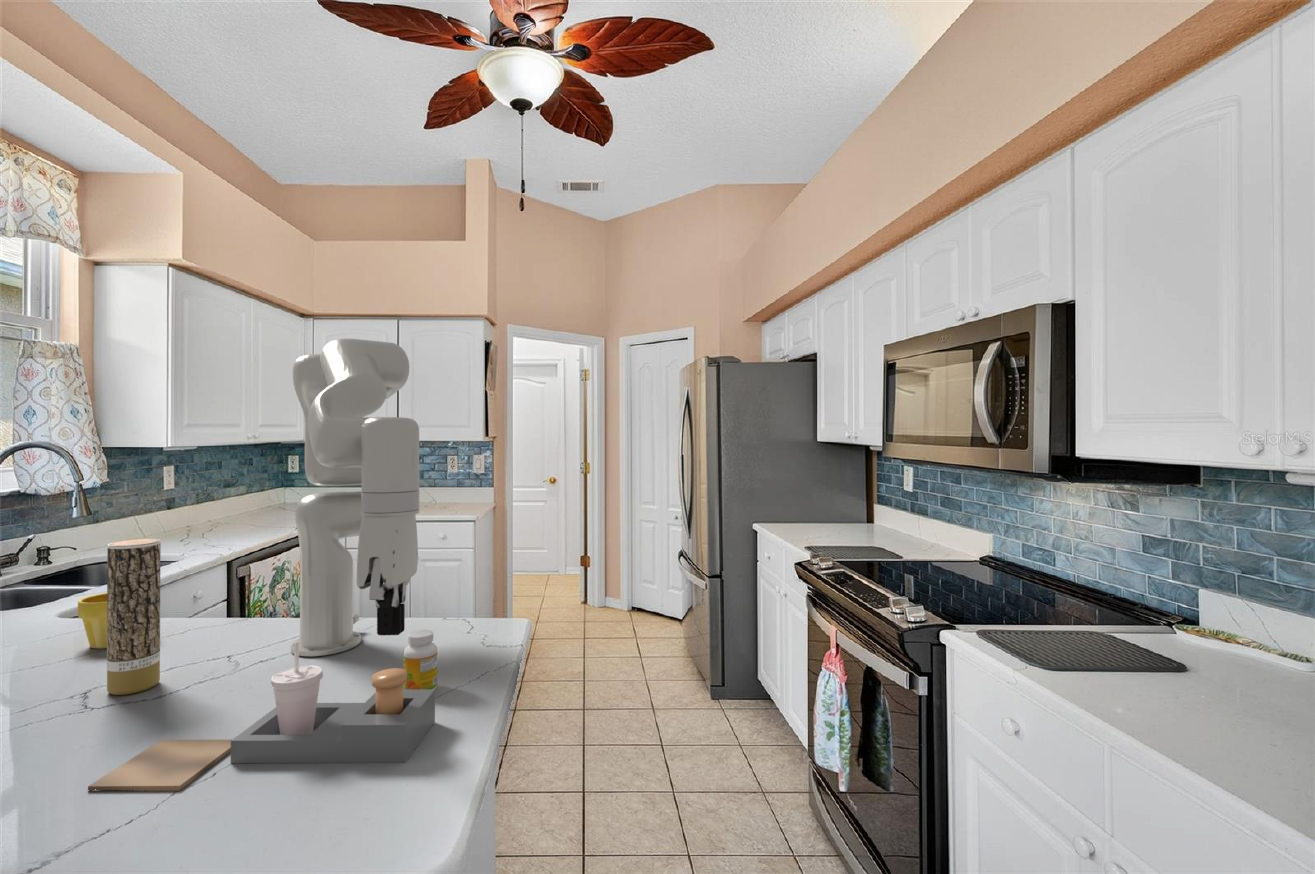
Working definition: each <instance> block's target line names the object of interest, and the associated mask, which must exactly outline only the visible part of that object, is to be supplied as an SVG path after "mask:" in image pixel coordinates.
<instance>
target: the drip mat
mask: <svg viewBox="0 0 1315 874" xmlns="http://www.w3.org/2000/svg"><path fill="white" fill-rule="evenodd" d="M231 740H232V738H231V739H160V740H159V741H157V742H156V743H155V744H153V745H151V746H150V747H148V748H145V750H144V751H141V752H140V753H138V754H137V755H135V756H133V757H132V758H130V759H129V760H128V761H126V762H124V763H123V764H121V765H119V766H118V767H116V768H115V769H113V770H111V771H110V772H109V773H107V774H105V775H104V776H102V777H101V778H99V779H97V780H96V781H94V782H92V783H91V784H90V785H87V791H88V790H95V789H96V790H124V791H123V792H126V791H125V790H128V791H127V792H145V790H146V792H155V791H156V792H164V791H165V792H166V791H167V792H170V791H171V792H176V791H178V792H179V791H181V790H182V789H184V788H185V787H186V786H188V785H189V784H190V783H192V782H193V781H194V780H196V779H198V778H199V777H200V776H201V775H202V774H204V773H205V772H206V771H207V770H208V769H210V768H211V767H212V766H214V765H215V764H216V763H218V762H219V761H221V759H223V758H224V757H225V756H227V755H228V754H231ZM129 790H130V791H129ZM132 790H133V791H132Z"/></svg>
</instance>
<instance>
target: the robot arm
mask: <svg viewBox="0 0 1315 874" xmlns="http://www.w3.org/2000/svg"><path fill="white" fill-rule="evenodd" d="M292 367H293V368H292V381H293V383H292V384H293V386H294V390H295V391H294V392H295V393H296V397H297V398H298V399H297V400H298V401H299V403H300V406H301V410H302V412H303V416H304V471H305V472H304V474H305V477H306V480H307V481H308V482H309V483H310V484H311V485H314V486H319V487H337V486H338V487H339V486H340V487H342V486H343V487H344V486H361V490H354V491H345V490H344V491H327V492H326V491H325V492H317V493H311V494H309V495H305V496H303V498H301V499H300V500H299V501H298V503H296V507H295V511H294V512H295V513H294V515H295V517H294V519H295V524H296V530H297V536H298V543H299V545H298V546H299V559H300V560H299V566H300V567H299V578H300V580H299V582H300V583H299V584H300V585H299V587H300V588H299V589H300V590H299V597H300V598H299V639H296V640H295V641H293V642H292V643H291V645H290V652H291V653H292V654H293V655H294V642H299V657H323V656H330V655H335V654H339V653H342V652H345V651H346V652H347V651H349V650H351V649H353V648H355V647H357V646H358V645H360V643H361V641H362V634H360V633H359V632H356V631H354V625H355V624H356V623H358V622H359V620H360V616H359V614H357V613H354V560H353V556H352V553H351V552H350V551H349V549H347V548H346V547H345V546H344V545H343V544H341V542H340V540H341V539H345V538H352V537H358V545H357V555H356V556H357V557H356V561H357V562H356V586H357V588H358V589H359V590H365V589H367V588H369V595H368V596H369V600H370V601H374V602H375V608H376V634H377V636H399V635H400V634H402V633H403V632H404V631H405V628H406V627H405V625H406V624H405V623H406V622H405V619H406V618H405V613H406V611H405V607H406V606H405V602H406V597H407V596H406V595H407V586H408V584H410V582H411V578H412V577H413V576H415V575H416V573H417V571H418V565H419V564H418V562H419V556H418V555H419V548H418V547H419V545H418V529H417V527H418V526H417V516H416V515H417V514H420V427H419V424H418V422H417V421H416V420H415V419H413V418H408V417H397V416H395V417H394V416H391V417H390V416H378V417H377V416H376V417H368V416H369V415H372V414H374V413H375V412H377V411H378V410H379V409H380V408H382V406H383V405H384V403H385V401H386V400H387V399H389V398H391V396H393V395H395V394H396V393H397V392H398V391H399V390H401V389H402V388H403V387H404V386H405V384H406V383H407V381H408V379H409V375H410V362H409V358H408V355H407V353H406V351H405V350H404V349H403V347H402V346H400V345H399V344H396V343H395V342H389V341H379V340H378V341H377V340H370V339H369V340H368V339H367V340H366V339H357V338H338V339H334V340H331V341H330V342H328V343H327V344H326V345H325V346H324V347H323V349H321V353H316V354H315V353H313V354H305V355H302V356H299V357H298V358H296V360H295V361H294V363H293V366H292Z"/></svg>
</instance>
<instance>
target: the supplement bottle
mask: <svg viewBox="0 0 1315 874" xmlns="http://www.w3.org/2000/svg"><path fill="white" fill-rule="evenodd" d="M407 639H408V640H407V642H408V646H406V647H405V648H404V651H403V669H405V670H406V671H407V681H406V682H405V683H403V690H407V689H435V690H437V687H438V645H436V643H434V642H433V641H434V631H433V630H430V629H419V630H414V631H411V632H410V633H408V636H407Z"/></svg>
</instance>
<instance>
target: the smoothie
mask: <svg viewBox="0 0 1315 874" xmlns="http://www.w3.org/2000/svg"><path fill="white" fill-rule="evenodd" d="M293 642H294V654H293V655H294V657H293V667H289V668H286V669H283V670H280V671H279V672H277V673H275V674H274V675H272V676H271V679H270V687H271V688H272V689H273V695H274V701H275V708H276V709H277V716H278V723H279V730H280V733H279V735H310V734H311V733H312V732H313V731H314V729H315V728H314V721H315V714H316V707H317V703H318V699H319V692H320V685H321V684H320V683H321V680H322V679H323V677H324V672H323V671H324V669H323V668H322V667H321V666H318V665H312V664H311V665H309V664H308V665H300V666H299V664H300V663H299V660H300V656H299V642H295V641H293Z"/></svg>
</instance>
